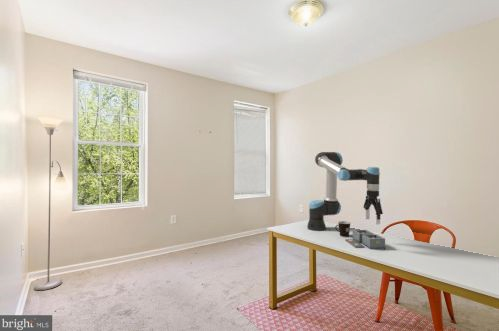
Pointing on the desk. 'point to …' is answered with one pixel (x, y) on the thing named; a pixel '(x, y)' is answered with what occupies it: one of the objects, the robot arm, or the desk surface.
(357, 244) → the card
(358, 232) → the grey square bin
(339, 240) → the desk surface
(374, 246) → the grey open box
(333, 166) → the robot arm
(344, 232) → the coffee mug
